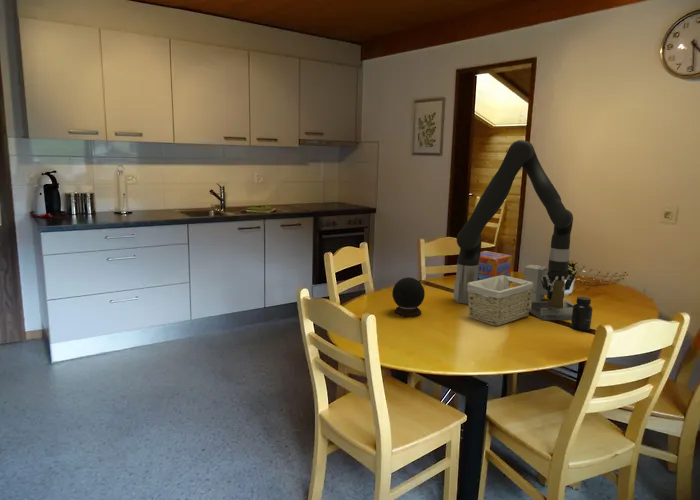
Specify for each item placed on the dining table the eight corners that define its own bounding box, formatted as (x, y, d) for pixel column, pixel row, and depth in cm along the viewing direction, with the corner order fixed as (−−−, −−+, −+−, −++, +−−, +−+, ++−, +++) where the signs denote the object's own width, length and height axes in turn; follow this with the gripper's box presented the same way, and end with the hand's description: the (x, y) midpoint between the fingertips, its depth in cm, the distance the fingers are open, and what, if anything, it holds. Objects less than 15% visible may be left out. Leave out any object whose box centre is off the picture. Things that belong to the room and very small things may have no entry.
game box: (510, 285, 254) (512, 255, 251) (493, 290, 243) (495, 259, 240) (483, 279, 265) (485, 250, 262) (466, 284, 255) (468, 254, 252)
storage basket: (496, 328, 190) (499, 291, 187) (463, 317, 202) (465, 282, 200) (532, 317, 204) (535, 282, 201) (499, 307, 217) (501, 274, 214)
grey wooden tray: (542, 320, 200) (543, 309, 199) (528, 311, 211) (529, 300, 210) (580, 319, 201) (581, 308, 201) (564, 310, 213) (565, 300, 212)
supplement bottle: (589, 332, 186) (592, 301, 184) (569, 329, 190) (572, 298, 188) (591, 327, 192) (594, 297, 190) (572, 324, 196) (575, 294, 193)
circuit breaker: (553, 304, 221) (556, 271, 218) (521, 298, 230) (523, 267, 227) (557, 300, 227) (561, 268, 224) (526, 295, 236) (529, 264, 233)
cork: (547, 306, 203) (549, 280, 201) (547, 302, 209) (550, 277, 207) (563, 308, 201) (565, 281, 199) (563, 304, 207) (565, 278, 205)
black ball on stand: (398, 306, 215) (399, 272, 212) (427, 311, 209) (429, 276, 206) (386, 315, 203) (388, 279, 200) (417, 320, 198) (419, 283, 195)
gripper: (546, 261, 197) (543, 302, 201) (580, 260, 199) (576, 302, 202) (537, 257, 205) (534, 297, 208) (570, 256, 206) (566, 297, 210)
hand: (555, 299), depth 205 cm, fingers closed on cork, 4 cm apart
